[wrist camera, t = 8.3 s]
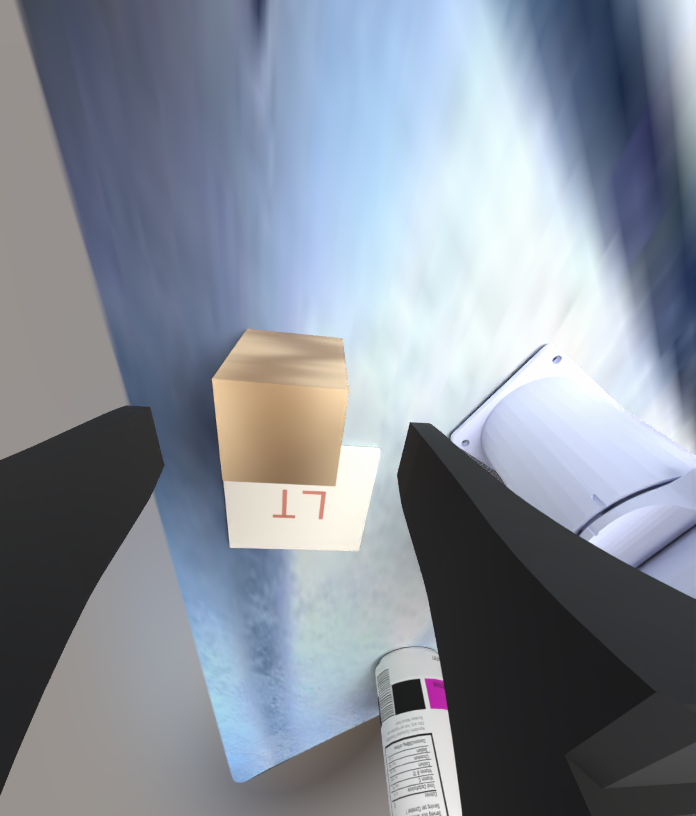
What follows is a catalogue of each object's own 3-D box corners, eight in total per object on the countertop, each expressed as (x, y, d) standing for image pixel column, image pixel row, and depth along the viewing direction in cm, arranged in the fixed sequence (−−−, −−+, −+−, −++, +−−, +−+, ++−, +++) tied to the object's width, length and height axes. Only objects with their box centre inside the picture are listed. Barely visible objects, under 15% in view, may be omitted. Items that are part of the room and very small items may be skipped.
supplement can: (450, 642, 36) (518, 877, 23) (434, 674, 40) (484, 887, 28) (379, 644, 36) (409, 887, 23) (370, 676, 40) (392, 897, 27)
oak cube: (342, 338, 17) (348, 390, 12) (333, 416, 20) (335, 486, 15) (247, 328, 17) (212, 378, 12) (250, 410, 19) (222, 481, 14)
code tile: (379, 447, 21) (380, 453, 21) (358, 544, 26) (358, 551, 26) (222, 437, 20) (219, 443, 20) (231, 540, 25) (229, 547, 25)
